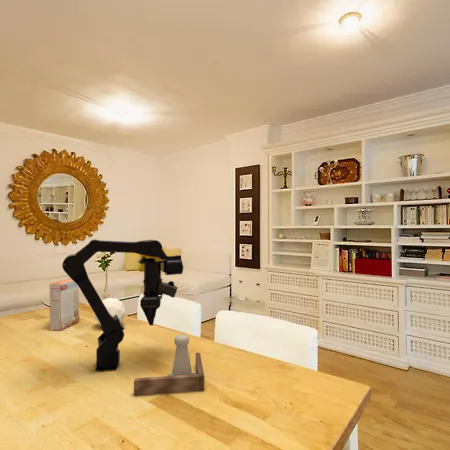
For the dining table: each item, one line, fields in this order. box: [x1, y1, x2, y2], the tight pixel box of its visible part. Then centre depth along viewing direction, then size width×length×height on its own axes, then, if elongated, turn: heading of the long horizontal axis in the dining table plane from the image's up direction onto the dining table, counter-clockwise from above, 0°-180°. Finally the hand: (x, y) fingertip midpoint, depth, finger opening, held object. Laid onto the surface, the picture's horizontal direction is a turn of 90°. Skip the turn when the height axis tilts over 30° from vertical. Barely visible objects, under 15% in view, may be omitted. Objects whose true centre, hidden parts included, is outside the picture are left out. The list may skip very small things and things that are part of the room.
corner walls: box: [133, 352, 205, 397], centre depth 96 cm, size 19×17×4 cm
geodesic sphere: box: [94, 296, 127, 326], centre depth 147 cm, size 14×14×14 cm
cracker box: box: [48, 278, 80, 331], centre depth 148 cm, size 14×6×21 cm, turn 172°
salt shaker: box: [171, 334, 193, 376], centre depth 94 cm, size 6×6×13 cm
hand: (152, 321), depth 110 cm, fingers open, 9 cm apart
